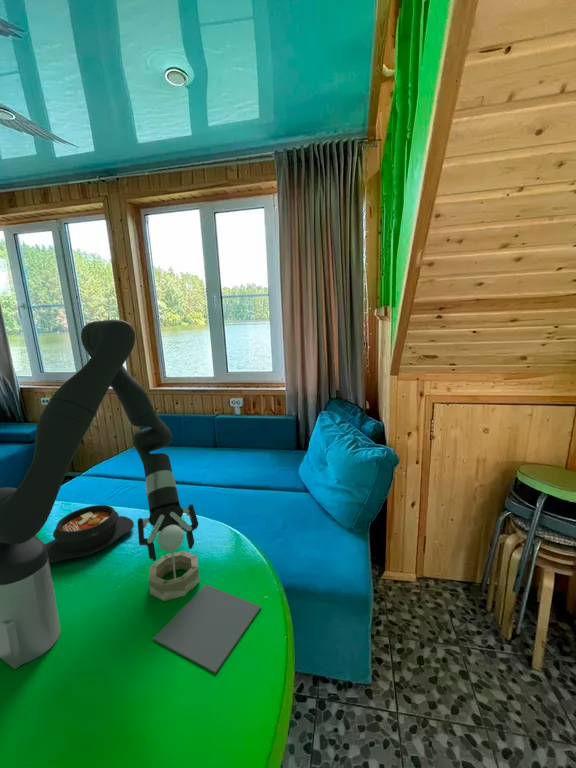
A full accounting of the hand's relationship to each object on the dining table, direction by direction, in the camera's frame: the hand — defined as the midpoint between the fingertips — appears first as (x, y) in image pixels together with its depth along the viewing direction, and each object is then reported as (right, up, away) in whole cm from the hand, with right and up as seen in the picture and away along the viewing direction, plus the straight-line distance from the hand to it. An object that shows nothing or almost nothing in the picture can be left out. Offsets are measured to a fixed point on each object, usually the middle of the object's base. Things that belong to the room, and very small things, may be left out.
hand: (173, 554), depth 81 cm
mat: (+11, -10, -10) cm, 18 cm away
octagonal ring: (0, -8, +2) cm, 8 cm away
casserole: (-32, -7, +19) cm, 38 cm away
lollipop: (0, -8, +2) cm, 9 cm away
